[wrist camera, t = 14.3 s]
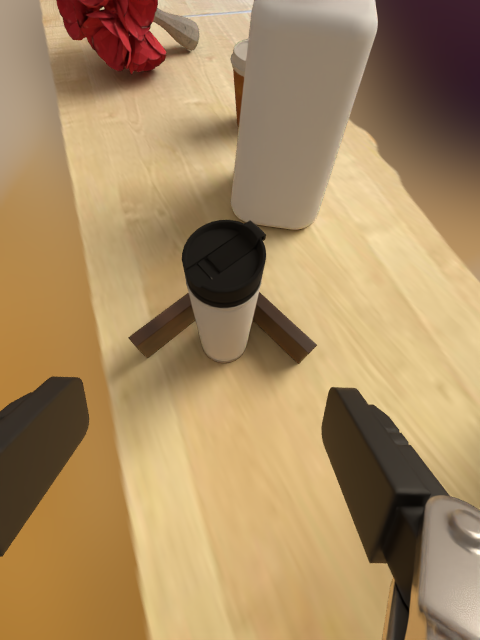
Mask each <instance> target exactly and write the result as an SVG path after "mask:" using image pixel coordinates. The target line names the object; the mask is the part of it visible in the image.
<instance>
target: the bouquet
mask: <svg viewBox="0 0 480 640" xmlns="http://www.w3.org/2000/svg"><path fill="white" fill-rule="evenodd" d="M56 1H57V6H58V9H59V12H60V15H61V16H62V17H63V22H64V26H65V28H66V30H67V32H68V34H69V36H70V37H71V38H72V39H73V40H82V39H83V38H85V37H87V40H88V42H89V44H90V45H91V47H92V48H93V49H94V50H95V51H96V52H97V54H98V55H99V56H100V57H101V58H102V59H103V60H104V61H105V62H106V64H107V65H108V66H109V67H111V68H112V69H114V70H117V71H122V70H123V69H124V67H126V69H128V68H129V71H130V74H131V75H132V73H133V72H134V71H136V72H141V71H150V70H153V69H155V67H157V66H159V65H160V64H161V63H162V62H163V61H165V58H166V55H165V54H166V51H165V49H164V48H163V47H162V45H161V44H160V43H159V42H158V40H157V39H156V38H155V37H154V36H153V34H152V33H151V32H150V31H149V29H150V28H151V27H150V25H151V24H152V22H155V23H157V24H158V25H160V26H161V27H162V28H164V29H165V30H166V31H167V32H168V33H169V34H170V35H171V36H172V37H173V38H174V39H175V40H176V41H177V42H178V43H179V44H180V45H181V46H183V47H184V48H186V49H189V50H191V51H192V50H194V49H195V48H196V46H197V44H198V40H199V28H198V26H197V24H196V23H195V22H194V21H192V20H190V19H188V18H185V17H182V16H178V15H173V14H169V13H166V12H163V11H162V10H160V9H158V8H157V6H158V0H56ZM103 6H104V10H100V9H101V8H102V7H103Z"/></svg>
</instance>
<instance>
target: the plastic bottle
mask: <svg viewBox="0 0 480 640" xmlns="http://www.w3.org/2000/svg"><path fill="white" fill-rule="evenodd" d="M377 24H378V20H377V11H376V5H375V0H254V3H253V8H252V13H251V21H250V30H249V39H248V48H247V57H246V67H245V76H244V85H243V94H242V104H241V113H240V122H239V131H238V140H237V150H236V159H235V168H234V177H233V186H232V196H231V207H232V210H233V212H234V213H235V215H236V216H237V217H238V218H239V219H241V220H242V221H244V222H248V221H249V220H250V221H252V222H253V223H254V224H255V225H263V226H270V227H278V228H285V229H293V230H296V229H303V228H306V227H308V226H309V225H311V224H312V223H313V222H314V221H315V219H316V218H317V215H318V212H319V209H320V206H321V203H322V200H323V197H324V194H325V191H326V187H327V184H328V181H329V178H330V175H331V172H332V169H333V166H334V162H335V159H336V156H337V153H338V150H339V147H340V144H341V141H342V138H343V134H344V131H345V128H346V125H347V122H348V119H349V116H350V113H351V109H352V106H353V103H354V100H355V97H356V94H357V91H358V87H359V85H360V81H361V78H362V75H363V72H364V69H365V66H366V63H367V60H368V57H369V53H370V50H371V47H372V44H373V41H374V38H375V35H376V31H377Z"/></svg>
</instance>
